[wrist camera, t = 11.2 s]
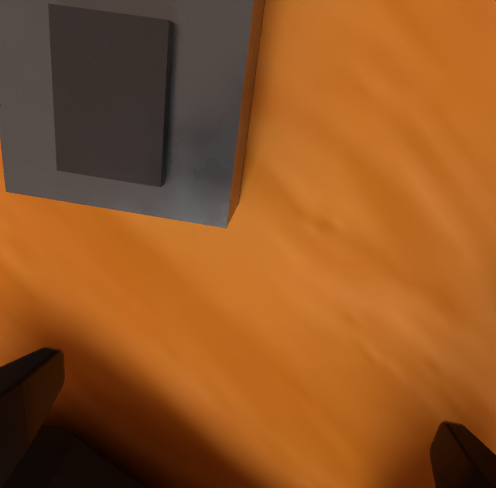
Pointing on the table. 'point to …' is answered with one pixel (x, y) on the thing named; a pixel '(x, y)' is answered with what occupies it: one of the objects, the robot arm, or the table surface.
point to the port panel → (194, 109)
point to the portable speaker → (65, 465)
